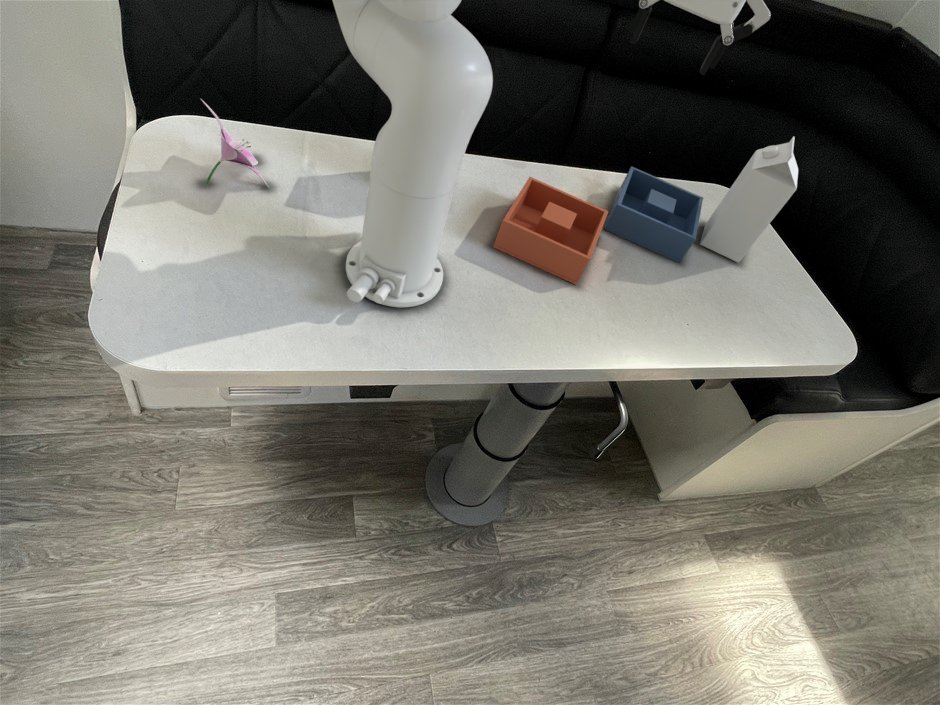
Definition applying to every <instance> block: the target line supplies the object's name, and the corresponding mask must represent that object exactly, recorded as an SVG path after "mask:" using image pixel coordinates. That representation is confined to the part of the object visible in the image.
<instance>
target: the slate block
mask: <svg viewBox="0 0 940 705" xmlns="http://www.w3.org/2000/svg"><path fill="white" fill-rule="evenodd" d="M675 204H676V199H674V198H671V197H669V196H667V195H665V194H662V193H660V192H658V191H655V190H653V189H651V190H650V192H649V194H648V196H647V197H646V199H645V201H644V203H643V204H642V206H641V208H640V210H639V212H640V213H642V214H645V215H647V216H649V217H652V218H654V219H656V220H658V221H661V222H663V223H665V224H667V223H668V221H669V220H670V218H671V216H672V215H673V213H674V208H675Z"/></svg>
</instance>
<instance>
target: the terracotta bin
mask: <svg viewBox="0 0 940 705" xmlns="http://www.w3.org/2000/svg"><path fill="white" fill-rule="evenodd" d="M549 202H552V203H554V204H556V205H558V206H561V207H563V208H565V209H567V210H570V211H572V212H574V213H576V214H577V215H576V217H575V220H574V222H573V224H572V226H571V228H570V231H569V233H568V235H567V237H566V239H565V241H564V243H563V244H560V243H558V242H556V241H554V240H551V239H549V238H547V237H545V236H543V235H540V234H538V233H536V232H535V231H536V228H537V226H538V223H539V221H540V219H541V216H542V214H543V213H544V211H545V209H546V207H547V205H548V203H549ZM608 214H609V211H608V210H607V209H604V208H602V207H600V206H598V205H595V204H594V203H591V202H589V201H586V200H584V199H581V198H579V197H577V196H575V195H573V194H571V193H568V192H567V191H564V190H562V189H560V188H557V187H554V186H552V185H550V184H548V183H546V182H543V181H541V180H538V179H537V178H534V177H532V176H529V177H528V178H527V180H526V182H525V184H523V187H522V188H521V190H520V191H519V193H518V195H517V196H516V198H515V199H514V201H513V202H512V204H511V206H510V207H509V209H508V211H507V213H506V214H505V216H504V218H503V219H502V220H501V221H502V222H501V224H500V227H499V230H498V232H497V236H496V238H495V241H494V244H493V249H496V250H498V251H500V252H503V253H505V254H506V255H509V256H510V257H511V256H512V257H514V258H516V259H518V260H519V261H522V262H524V263H527V264H529V265H532V266H534V267H535V268H538V269H540V270H542V271H544V272H547V273H549V274H551V275H553V276H555V277H558V278H560V279H562V280H565V281H567V282H569V283H571V284H573V285H576V286H577V285H578V283H579V281H580V279H581V278H582V275H583V274H584V272H585V270H586V268H587V266H588V264H589V262H590V261H591V258H592V255H593V253H594V250H595V249H596V245H597V243H598V240H599V237H600V235H601V232H602V230H603V227H604V226H605V225H604V224H605V223H606V221H607V218H608Z"/></svg>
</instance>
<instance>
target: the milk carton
mask: <svg viewBox="0 0 940 705" xmlns="http://www.w3.org/2000/svg"><path fill="white" fill-rule="evenodd" d="M794 147H795V136H792V138H791V139H790V140H789V141H788V142H784V143H780V144H776V145H775V144H773V145H768V146H766V147H764V148H759V149H757V150H755V151H754V152H753V154H752V156H751V157H750V159H749V160H748V162H747V163H746V165H745V166H744V167H743V169H742V170H741V172H740V173H739V175H738V176H737V178H736V179H735V180H734V182H733V184H732V185H731V186H730V188H729V189H728V190H727V192H726V194H725V195H724V196H723V198H722V199H721V201H720V202H719V204H718V205H717V207H716V208H715V209H714V211H713V213H712V214H711V216H710V217H709V218H708V219H707V221H706V223H705V225H704V228H703V231H702V234H701V238H700V240H699V245H700V246H703V247H704V248H707V249H709V250H711V251H713V252H715V253H717V254H719V255H721V256H723V257H725V258H727V259H730V260H732V261H734V262H735V263H738V264H739V263H740V262H741V261H742V259H743V258H744V257H745V255H746V254H748V252H749V250H750V249H751V248H752V246H754V244H755V243H756V241H758V239H759V238H760V236H761V235H762V234H763V233H764V231H765V230H766V229H767V228H768V226H769V225H770V224H771V222H772V221H773V220H774V219H775V218H776V216H777V215H778V214H779V213H780V211H781V210H782V209H783V207H784V206H785V205H786V204H787V203H788V201H789V200H790V199H791V197H792V196H793V194H794V193H795V192H796V191H797V190H798V189H797V188H798V178H799V167H798V164H797V163H798V162H797V160H796V158H795V154H794Z"/></svg>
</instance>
